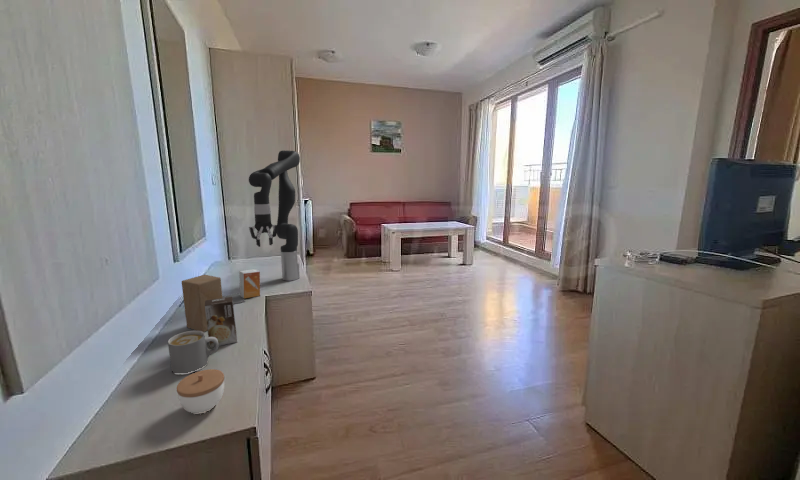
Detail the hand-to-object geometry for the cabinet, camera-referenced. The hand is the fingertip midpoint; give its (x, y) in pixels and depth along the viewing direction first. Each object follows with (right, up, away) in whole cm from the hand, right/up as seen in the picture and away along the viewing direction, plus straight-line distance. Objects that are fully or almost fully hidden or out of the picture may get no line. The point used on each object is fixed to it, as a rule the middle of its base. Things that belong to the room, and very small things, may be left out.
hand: (264, 245), depth 169 cm
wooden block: (-10, -33, -34) cm, 48 cm away
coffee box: (+4, -35, -47) cm, 59 cm away
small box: (-7, -26, -1) cm, 27 cm away
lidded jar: (+17, -42, -81) cm, 93 cm away
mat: (-18, -27, -8) cm, 34 cm away
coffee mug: (+3, -38, -62) cm, 73 cm away
